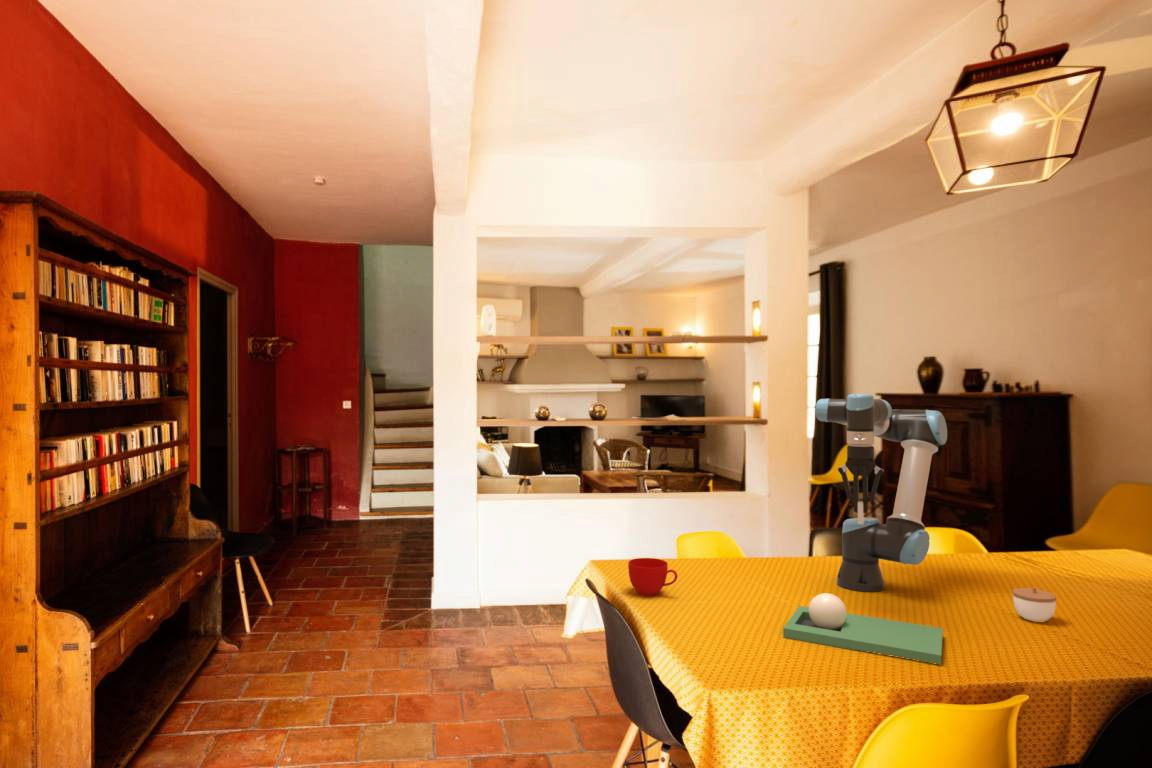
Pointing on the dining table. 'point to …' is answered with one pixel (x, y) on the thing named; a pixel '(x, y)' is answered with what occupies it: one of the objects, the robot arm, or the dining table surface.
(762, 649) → the dining table surface
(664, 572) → the ceramic cup
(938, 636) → the putting board
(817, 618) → the ball
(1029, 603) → the lidded jar
